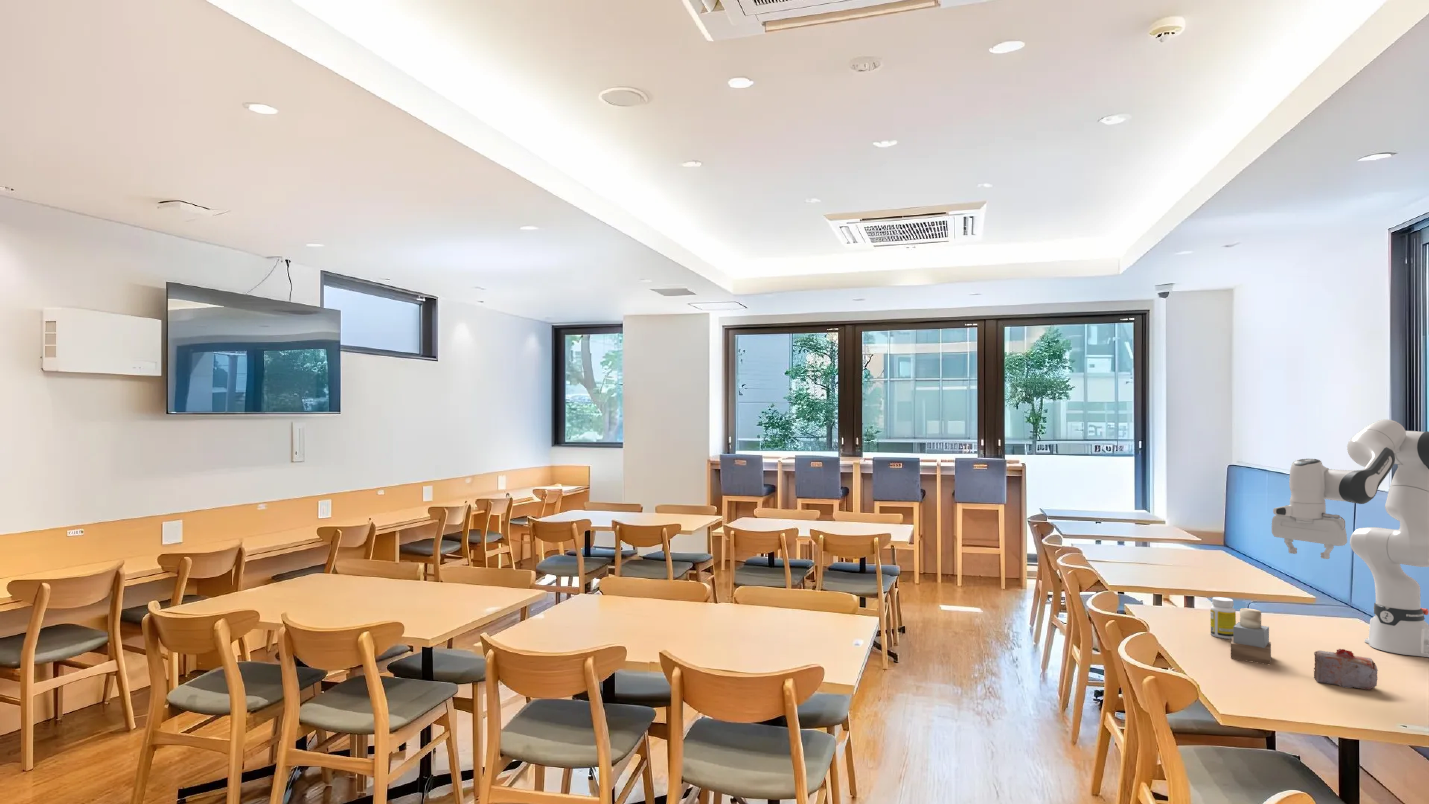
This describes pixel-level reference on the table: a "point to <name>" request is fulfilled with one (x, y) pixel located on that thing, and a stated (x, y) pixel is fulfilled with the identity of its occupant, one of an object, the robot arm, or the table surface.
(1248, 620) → the beige block
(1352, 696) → the table surface
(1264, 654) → the walnut base block
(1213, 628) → the supplement bottle
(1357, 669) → the food item
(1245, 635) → the slate grey top block
